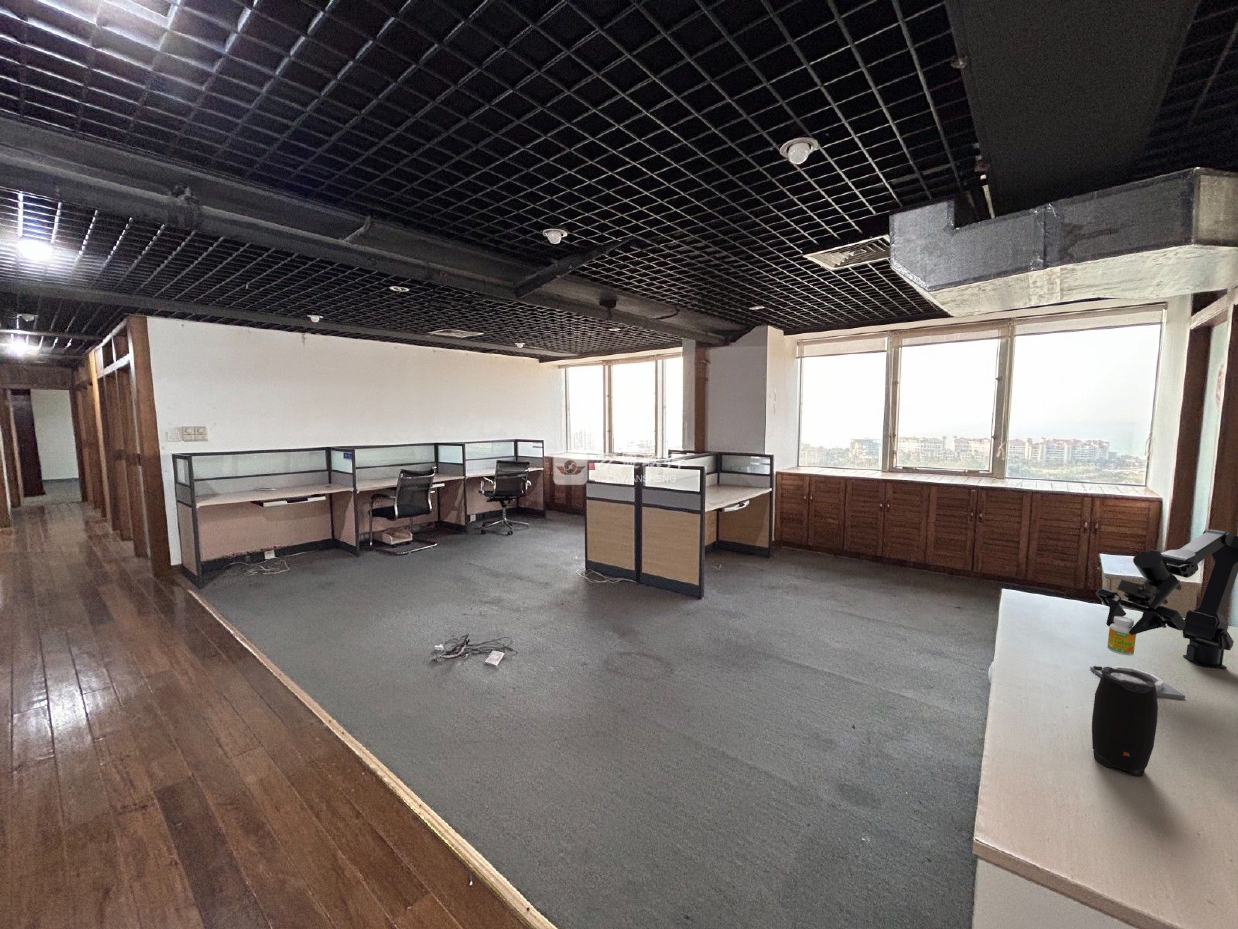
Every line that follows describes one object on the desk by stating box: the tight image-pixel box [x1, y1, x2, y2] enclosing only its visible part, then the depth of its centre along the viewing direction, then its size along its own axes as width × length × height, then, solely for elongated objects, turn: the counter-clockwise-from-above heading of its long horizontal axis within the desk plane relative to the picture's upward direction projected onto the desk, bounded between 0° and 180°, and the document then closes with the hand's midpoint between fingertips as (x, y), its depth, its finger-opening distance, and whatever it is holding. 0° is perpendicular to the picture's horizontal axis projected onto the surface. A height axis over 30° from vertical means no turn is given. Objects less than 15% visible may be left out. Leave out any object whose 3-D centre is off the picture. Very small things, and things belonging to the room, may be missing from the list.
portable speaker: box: [1091, 666, 1159, 777], centre depth 104 cm, size 9×9×20 cm
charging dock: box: [1089, 665, 1186, 700], centre depth 138 cm, size 14×12×2 cm
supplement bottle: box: [1106, 616, 1137, 657], centre depth 142 cm, size 5×5×10 cm
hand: (1118, 629), depth 142 cm, fingers closed on supplement bottle, 5 cm apart
